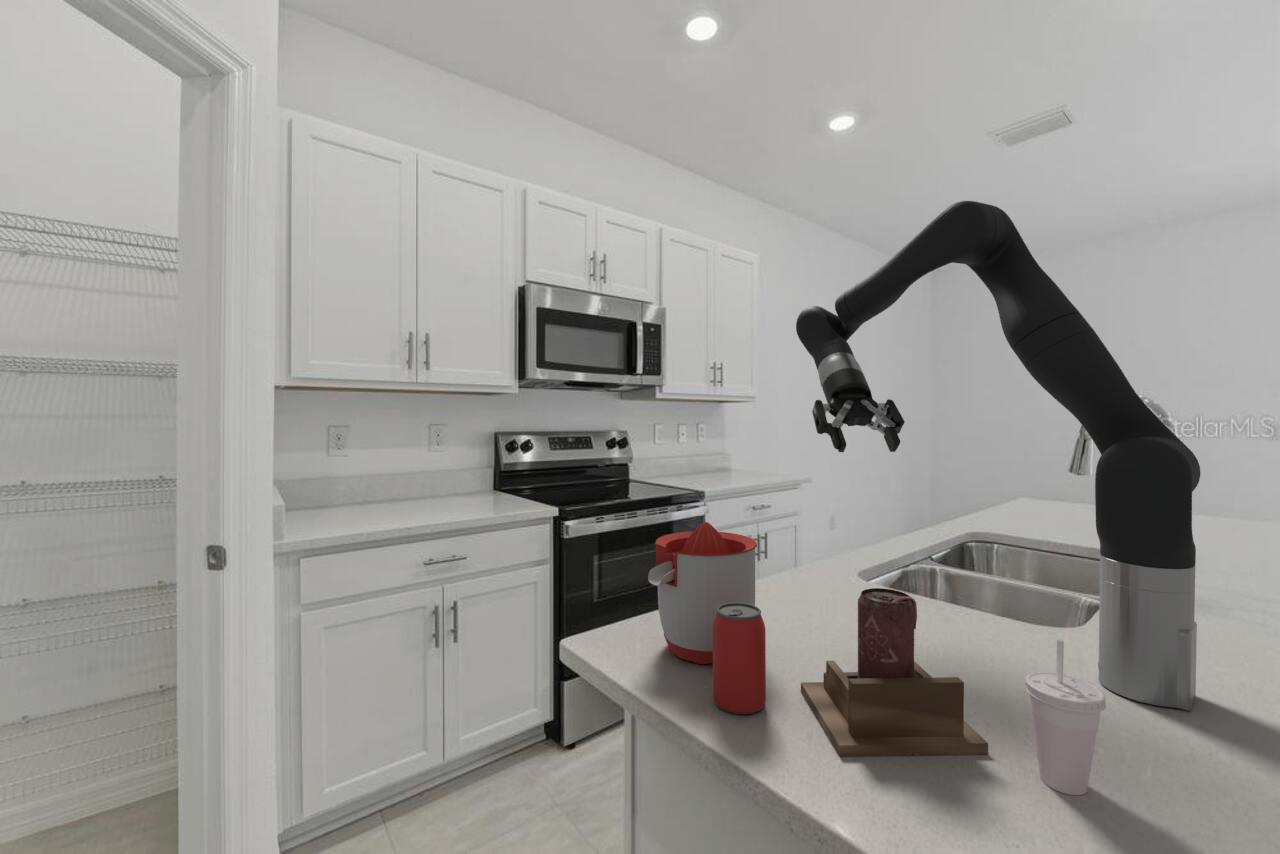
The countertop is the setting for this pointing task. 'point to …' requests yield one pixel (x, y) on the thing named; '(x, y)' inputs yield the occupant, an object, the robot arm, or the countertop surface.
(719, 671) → the beer can
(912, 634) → the can
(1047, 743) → the smoothie
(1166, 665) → the robot arm
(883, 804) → the countertop surface
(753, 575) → the citrus juicer
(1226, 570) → the countertop surface
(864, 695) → the dock
